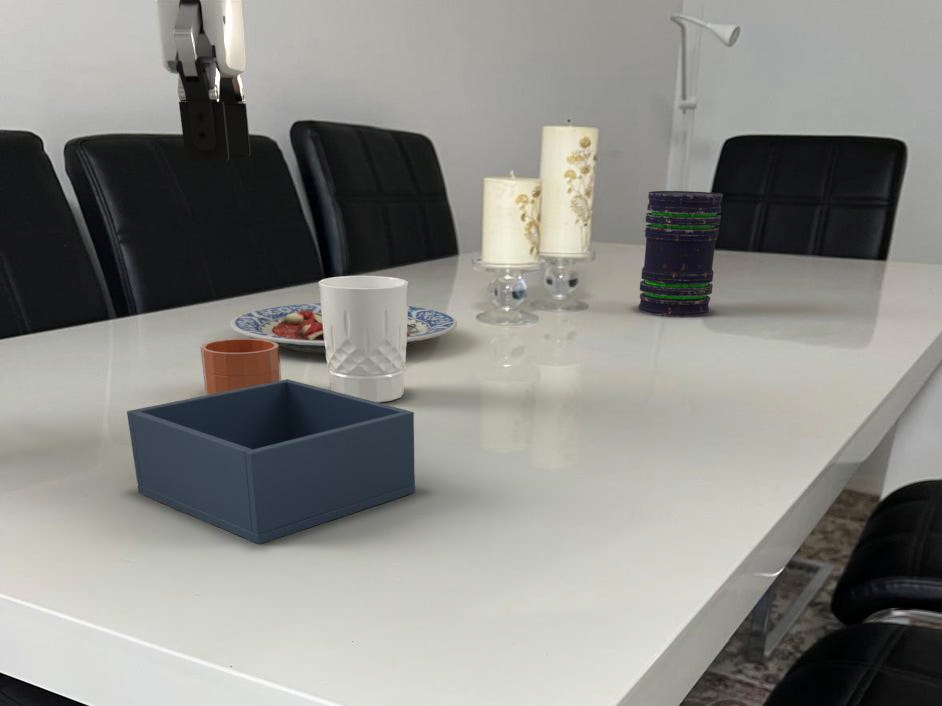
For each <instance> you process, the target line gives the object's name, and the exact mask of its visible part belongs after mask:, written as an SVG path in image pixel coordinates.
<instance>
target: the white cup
mask: <svg viewBox="0 0 942 706" xmlns="http://www.w3.org/2000/svg"><path fill="white" fill-rule="evenodd" d="M318 292H319V303H321V314H322V324H323V335H324V343H325V348H326V354H325V360H326V363H327V364H326V365H327V368H328V382H329V390H331V391H335V392H339V393H343V394H346V395H350V396H354V397H358V398H362V399H366V400H369V401H373V402H377V403H386V402H391V401H394V400H398V399H400V398H402V396H403V395H404V394H405V369H404V368H405V366H406V361H407V347H406V343H407V314H408V306H409V281H408V280H406V279H402V278H399V277H391V276H381V275H345V276H344V275H343V276H334V277H328V278H327V277H326V278H323V279H321V280H319V281H318Z"/></svg>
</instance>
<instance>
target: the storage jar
mask: <svg viewBox="0 0 942 706" xmlns="http://www.w3.org/2000/svg"><path fill="white" fill-rule="evenodd" d="M723 195H724V194H723V193H719V192H711V191H710V192H709V191H694V190H693V191H690V190H654V191H648V203H647V208H646V209H647V211H648V212H646V213H645V223H647V224H645V230H644V232H645V233H644V237H645V239H646V240H645V252H644V262H643V263H644V264H643V267H642V268H641V275H640V276H641V277H640V278H641V279H642V280H640V281H639V291H640V292H641V293H639V299H640V301H639V302H640V303H639V304H638V311H639V312H640V313H644V314H647V315H652V316H653V315H654V316H659V317H660V316H661V317H669V318H671V317H673V318H693V317H703V316H706V315H708V314H709V313H710V307H709V303H710V301H711V296H709V295H711V294H713V286H714V285H713V284H712V282H713V281H714V270H713V264H714V257H715V248H716V241H717V240H718V237H719V234H720V233H719V229H720V228H719V227H718V226H720V225H721V217H722V215H720V213H721V212H722V206H721V203H722V201H723V197H724V196H723Z"/></svg>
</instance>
